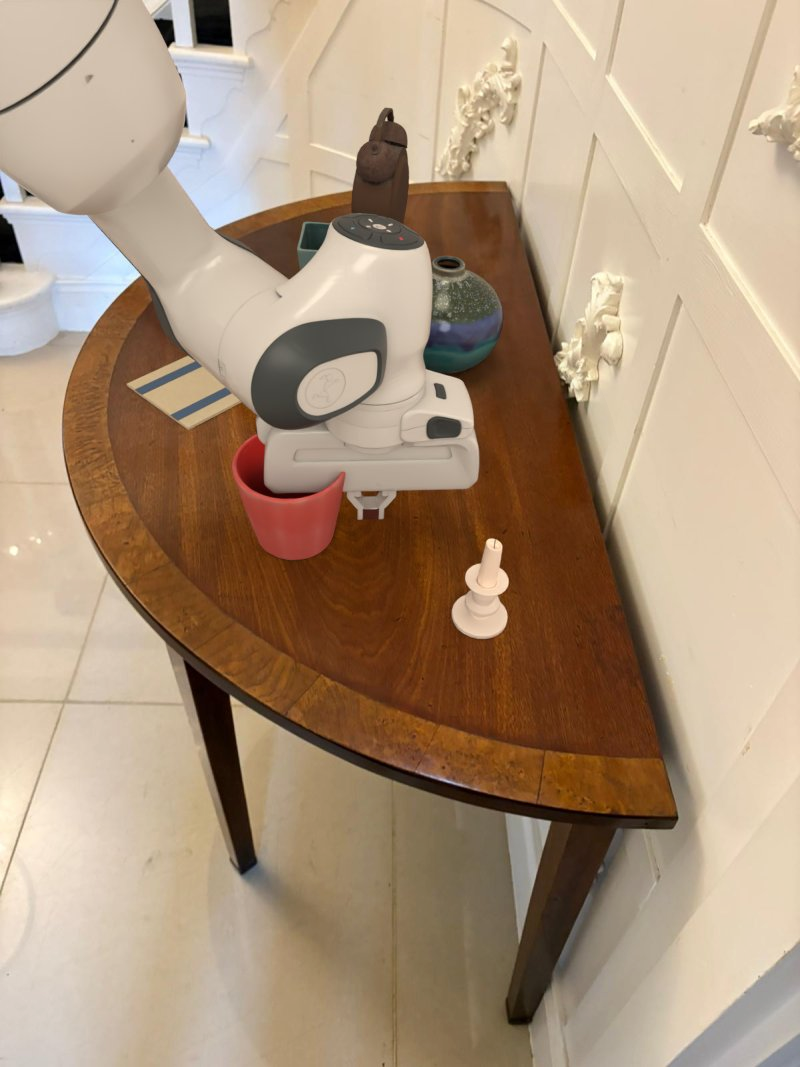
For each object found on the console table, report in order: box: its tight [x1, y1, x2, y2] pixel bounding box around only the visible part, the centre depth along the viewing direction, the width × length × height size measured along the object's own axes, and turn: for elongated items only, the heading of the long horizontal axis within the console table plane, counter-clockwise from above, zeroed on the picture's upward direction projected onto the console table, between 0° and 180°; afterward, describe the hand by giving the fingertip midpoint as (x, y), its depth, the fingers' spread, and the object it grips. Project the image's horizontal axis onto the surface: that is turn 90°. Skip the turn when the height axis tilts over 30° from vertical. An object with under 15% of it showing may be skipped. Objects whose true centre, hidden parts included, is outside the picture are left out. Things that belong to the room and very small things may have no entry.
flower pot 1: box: [231, 433, 345, 561], centre depth 76 cm, size 11×11×10 cm
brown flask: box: [350, 107, 410, 225], centre depth 119 cm, size 15×7×20 cm, turn 169°
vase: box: [423, 255, 504, 375], centre depth 100 cm, size 15×15×13 cm
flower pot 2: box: [296, 221, 331, 271], centre depth 111 cm, size 9×9×9 cm
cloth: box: [126, 355, 243, 431], centre depth 98 cm, size 20×12×1 cm, turn 138°
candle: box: [451, 538, 510, 640], centre depth 70 cm, size 5×5×10 cm
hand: (369, 515), depth 79 cm, fingers closed
